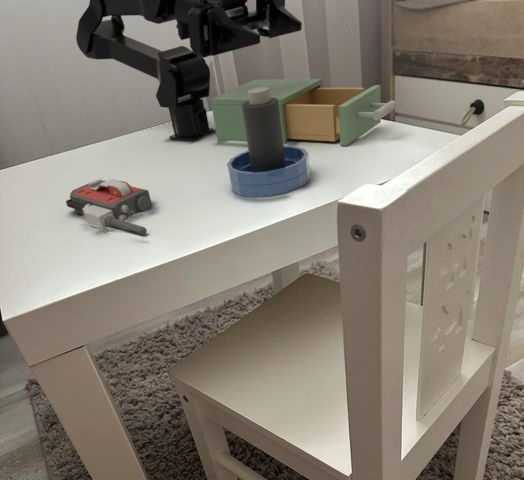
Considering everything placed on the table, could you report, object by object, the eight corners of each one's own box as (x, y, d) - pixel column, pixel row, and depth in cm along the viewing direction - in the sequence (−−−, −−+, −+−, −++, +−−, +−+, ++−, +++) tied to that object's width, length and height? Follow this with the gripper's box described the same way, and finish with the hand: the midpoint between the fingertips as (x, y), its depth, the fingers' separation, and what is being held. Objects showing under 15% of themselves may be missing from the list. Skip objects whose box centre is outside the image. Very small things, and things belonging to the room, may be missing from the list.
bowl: (216, 197, 75) (211, 169, 73) (261, 169, 82) (257, 143, 79) (282, 206, 69) (278, 176, 67) (324, 175, 76) (322, 147, 74)
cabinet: (325, 124, 97) (322, 78, 92) (285, 148, 88) (280, 100, 84) (260, 121, 104) (254, 79, 100) (218, 143, 96) (210, 99, 91)
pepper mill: (246, 185, 75) (232, 94, 68) (265, 173, 78) (253, 85, 70) (274, 189, 72) (263, 94, 65) (293, 176, 75) (284, 84, 68)
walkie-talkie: (56, 217, 77) (141, 245, 66) (45, 188, 75) (130, 211, 63) (105, 195, 82) (191, 217, 70) (96, 167, 79) (184, 185, 68)
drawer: (404, 123, 88) (405, 85, 84) (371, 147, 80) (371, 106, 77) (312, 119, 97) (309, 85, 93) (275, 141, 89) (271, 104, 86)
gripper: (155, -43, 74) (234, -25, 66) (247, -58, 83) (325, -44, 76) (164, 46, 82) (236, 70, 74) (247, 22, 91) (318, 42, 84)
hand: (280, 32), depth 77 cm, fingers open, 9 cm apart
